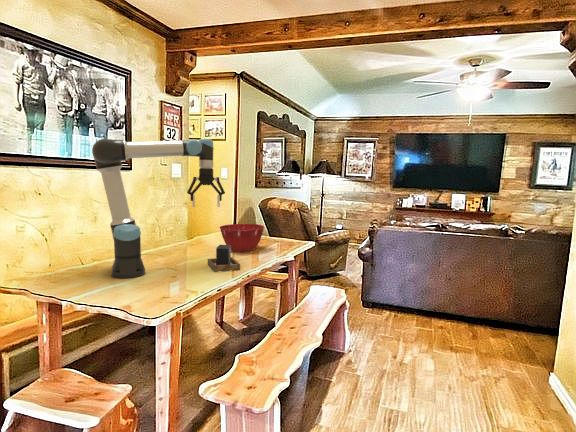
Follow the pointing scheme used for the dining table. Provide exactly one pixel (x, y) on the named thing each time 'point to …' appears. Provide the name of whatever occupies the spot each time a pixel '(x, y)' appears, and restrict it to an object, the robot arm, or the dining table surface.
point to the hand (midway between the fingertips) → (206, 207)
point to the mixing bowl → (242, 236)
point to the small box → (223, 255)
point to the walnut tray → (233, 265)
